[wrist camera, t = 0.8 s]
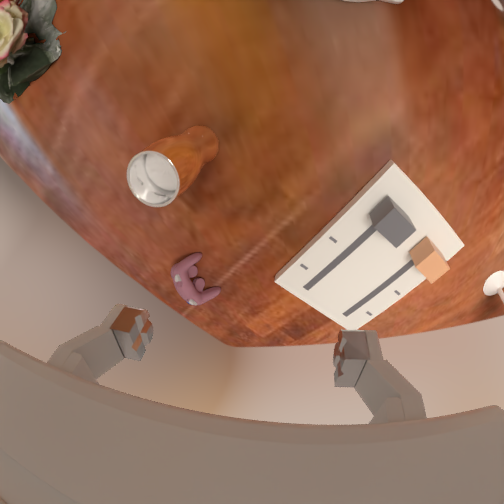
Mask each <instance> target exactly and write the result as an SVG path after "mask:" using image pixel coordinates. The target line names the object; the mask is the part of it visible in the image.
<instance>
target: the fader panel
mask: <svg viewBox="0 0 504 504" xmlns="http://www.w3.org/2000/svg"><path fill="white" fill-rule="evenodd" d="M387 196H389V197H390V198H391V199H392V200H393V201H394V202H395V203H396V204H397V205H398V206H399V207H400V208H401V209H402V210H403V211H404V212H405V213H406V214H407V215H408V216H409V218H410V219H411V221H412V223H413V225H414V226H415V228H416V231H415V232H414V233H413V234H412V235H411V236H410V237H409V238H407V239H406V240H405V241H404V242H403V243H402V244H401V245H400V246H398V247H397V248H395V247H394V246H393V245H392V244H391V243H390V242H389V241H388V240H387V239H386V238H385V237H384V236H383V235H381V234H380V233H379V232H378V231H377V230H376V229H375V228H374V227H373V224H372V221H371V218H370V215H369V213H370V212H371V211H372V210H373V209H374V208H375V207H377V206H378V205H379V204H380V203H381V202H382V201H383V200H384V199H385V198H386V197H387ZM426 237H428V238H429V239H430V240H431V241H432V242H433V243H434V245H435V246H436V247H437V248H438V249H439V250H440V252H441V253H442V254H443V256H444V258H445V260H446V261H448V260H449V259H450V258H451V257H452V256H453V255H455V254H456V253H457V252H458V251H459V250H460V249H461V248H462V247H463V246H464V244H463V243H462V241H461V240H460V238H459V237H458V235H457V234H456V233H455V232H454V230H453V229H452V228H451V226H450V225H449V224H448V223H447V221H446V220H445V219H444V218H443V216H442V215H441V214H440V213H439V211H438V210H437V209H436V208H435V207H434V205H433V204H432V203H431V202H430V201H429V200H428V198H427V197H426V196H425V195H424V194H423V193H422V192H421V190H420V189H419V188H418V187H417V186H416V185H415V184H414V183H413V182H412V181H411V180H410V178H409V177H408V176H407V175H406V174H405V173H404V172H403V171H402V170H401V169H400V168H399V167H398V166H397V165H396V164H395V163H394V162H393V161H392V160H391V159H390V160H389V161H388V162H387V164H386V165H385V166H384V167H383V168H382V169H381V170H380V171H379V172H378V173H377V174H376V175H375V176H374V177H373V178H372V179H371V180H370V181H369V182H368V183H367V184H366V185H365V186H364V187H363V189H362V190H361V191H360V192H359V193H358V194H357V195H356V196H355V197H354V198H353V199H352V200H351V201H350V202H349V203H348V204H347V205H346V206H345V207H344V208H343V209H342V210H341V211H340V212H339V213H338V214H337V215H336V216H335V217H334V218H333V219H332V220H331V221H330V222H329V223H328V224H327V225H326V226H325V227H324V228H323V229H322V230H321V231H320V232H319V233H318V234H317V235H316V236H315V237H314V238H313V239H312V240H311V241H310V242H309V243H308V244H307V245H306V246H305V247H304V248H303V249H302V250H301V251H300V252H299V253H297V254H296V255H295V256H294V257H293V258H292V259H291V260H290V261H289V262H288V263H287V264H286V265H285V266H284V267H283V268H282V269H281V270H280V271H279V272H278V273H277V274H276V275H275V280H274V282H275V283H277V284H278V285H280V286H281V287H283V288H284V289H286V290H287V291H289V292H290V293H292V294H294V295H295V296H297V297H298V298H300V299H301V300H303V301H304V302H306V303H307V304H309V305H310V306H312V307H313V308H315V309H316V310H318V311H320V312H321V313H323V314H324V315H326V316H327V317H329V318H330V319H332V320H333V321H335V322H336V323H338V324H340V325H341V326H343V327H344V328H346V329H347V330H357V329H358V328H360V327H361V326H363V325H364V324H366V323H367V322H369V321H370V320H371V319H373V318H374V317H376V316H377V315H379V314H380V313H381V312H383V311H384V310H386V309H387V308H388V307H390V306H391V305H392V304H394V303H395V302H397V301H398V300H399V299H401V298H402V297H403V296H405V295H406V294H407V293H408V292H410V291H411V290H412V289H414V288H415V287H416V286H417V285H419V284H420V283H421V282H422V281H424V280H425V279H426V277H425V276H424V275H423V274H422V273H421V272H420V271H419V270H418V269H417V268H416V267H415V265H414V262H413V260H412V257H411V255H410V253H409V252H410V251H411V250H412V249H413V248H414V247H415V246H417V245H418V244H419V243H420V242H421V241H422V240H423V239H424V238H426Z"/></svg>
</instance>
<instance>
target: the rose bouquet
mask: <svg viewBox="0 0 504 504" xmlns="http://www.w3.org/2000/svg"><path fill="white" fill-rule="evenodd" d="M21 1H22V0H14V1H9V0H4V1H2V2H1V3H0V99H1V100H2V101H3V102H5V103H11V102H12V101H13V96H14V93H16V94H17V96H18V97H19V96H20V95H21V94H22V93H23V92H24V90H25V89H26V88H27V87H28V86H29V85H30V82H31V81H34V80H36V79H37V78H39V77H40V76H41V75H42V74H43V73H45V71H46V70H47V69H48V68H49V66H50V65H51V63H52V62H54V61H55V60H57V59H58V57H59V56H60V54H61V51H62V50H61V46H60V43H59V38H58V40H56V38H57V37H58V35H61V34H62V33H61V32H59V31H58V30H57V29H56V28H55V27H54V26H53V25H52V24H51V23H52V20H53V17H54V14H55V12H56V9H57V5H56V2H55V0H24V1H23V2H22V4H21V5H20V7H19V6H17V5H18V4H19V3H20V2H21ZM29 33H35V34H36V36H37V38H38V39H39V41H40V40H44V39H46V41H45V42H44V44H43V43H35V42H34V38H33V37H32V38H29V39H27V38H28V34H29ZM64 33H65V32H64ZM14 100H15V99H14Z"/></svg>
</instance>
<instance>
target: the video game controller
mask: <svg viewBox="0 0 504 504" xmlns="http://www.w3.org/2000/svg"><path fill="white" fill-rule="evenodd" d="M201 257H202V254H201V253H194V254H192V255H190V256H188V257H186V258H185V259H183V260H182V261H180V262H179V263H176V264H175V265H173V267H172V268H171V277H172V278H173V282H174V285H175V287H176V290H177V291H178V293H179V294H180V296H181V297H182V298H183V299H184V300H185V301H187V303H188V304H191V305H201V304H203V303H205V302H207V301H209V300H210V299H212V298H214V297H216V296H217V295H218V294H219V293H220V292H221V288H220V287H212V288H209V289H206V290H204V291H203V288H204V286H205V281H204V280H203V279H201V278H195V279H194V280H193V282H191V280H190V278H193V277H195V276H196V275H197V272H198V271H197V267H196V266H194V264H195V263H197V262H198V261H199V260H200V259H201ZM189 277H190V278H189Z"/></svg>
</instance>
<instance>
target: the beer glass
mask: <svg viewBox="0 0 504 504" xmlns="http://www.w3.org/2000/svg"><path fill="white" fill-rule="evenodd" d="M218 149H219V142H218V138H217V136H216V134H215V133H214V132H213V131H212V130H211V129H210V128H208V127H205V126H201V125H196V126H192V127H190V128H188V129H187V130H186V131H185V132H184V133H183V134H182V135H174V136H169V137H165V138H162V139H160V140H158V141H156V142H154V143H152V144H151V145H149V146H148V147H146V148H145V149H144V150H142V151H141V152H140V153H138V154H136V155H135V156H134V157H133V158H132V159H131V161H130V163H129V165H128V168H127V181H128V185H129V187H130V189H131V191H132V193H133V194H134V196H135V197H136V198H137V199H138V200H140V201H141V202H142V203H144V204H146V205H148V206H152V207H163V206H166V205H168V204H170V203H171V202H172V201H173V200H174V199H176V198H177V197H178V196H179V195H181V194H182V193H183V192H184V191H185V190H186V189H187V188H189V186H190V185H191V184H192V183H193V182H194V181H195V179H196V178H197V176H198V174H199V172H200V170H201V168H202V166H203V164H205V163H208V162H210V161H211V160H212V159H214V157H215V156H216V155H217V152H218Z"/></svg>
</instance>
